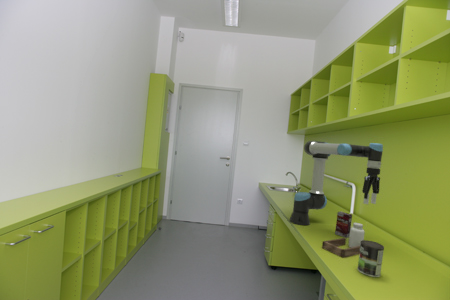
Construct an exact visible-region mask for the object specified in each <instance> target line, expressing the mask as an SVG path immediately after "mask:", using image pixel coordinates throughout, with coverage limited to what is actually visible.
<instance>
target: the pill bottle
mask: <svg viewBox="0 0 450 300" xmlns="http://www.w3.org/2000/svg"><path fill="white" fill-rule="evenodd" d="M363 225H364V224H362V223H359V222H353V224H352V226H351V229H350V236H349V237H348V244H347V245H348V248H352V247H356V246H360V245H361V243H360V242H361V241H362V240H365V233H366V232H365V230H364V228H363V227H364V226H363Z"/></svg>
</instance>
